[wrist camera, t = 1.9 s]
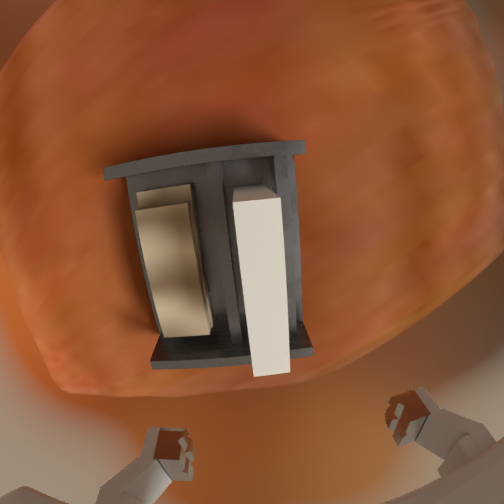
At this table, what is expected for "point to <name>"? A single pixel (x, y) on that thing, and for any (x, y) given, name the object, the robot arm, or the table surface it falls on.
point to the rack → (224, 242)
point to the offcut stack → (174, 260)
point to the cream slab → (263, 277)
